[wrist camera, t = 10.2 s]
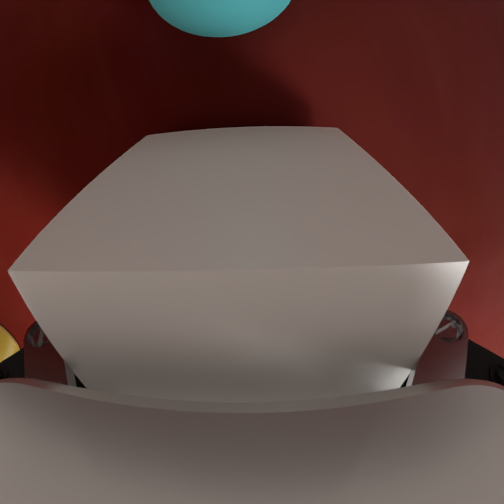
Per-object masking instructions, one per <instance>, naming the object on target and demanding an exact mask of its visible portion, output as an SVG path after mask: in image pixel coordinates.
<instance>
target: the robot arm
mask: <svg viewBox="0 0 504 504" xmlns="http://www.w3.org/2000/svg"><path fill="white" fill-rule="evenodd" d="M0 504H504V359H503V358H501V357H500V356H498V355H496V354H494V353H493V352H491V351H489V350H487V349H485V348H484V347H482V346H480V345H478V344H476V343H474V342H473V341H471V340H469V339H468V328H467V326H466V323H465V322H464V321H463V319H462V318H461V317H460V316H459V315H457V314H456V313H454V312H452V311H450V310H447V311H446V312H445V314H444V316H443V318H442V320H441V322H440V324H439V326H438V327H437V329H436V331H435V333H434V335H433V336H432V338H431V340H430V341H429V343H428V345H427V347H426V348H425V350H424V352H423V353H422V355H421V356H419V357H418V359H417V360H416V362H415V364H414V365H413V367H412V368H411V370H410V374H409V375H408V377H407V378H406V379H405V381H404V382H403V384H402V385H401V387H400V388H397V389H391V390H385V391H378V392H371V393H365V394H358V395H350V396H342V397H333V398H323V399H312V400H299V401H281V402H198V401H181V400H168V399H157V398H147V397H138V396H130V395H123V394H116V393H109V392H103V391H97V390H91V389H87V388H86V387H85V386H84V385H83V383H82V382H81V381H80V380H79V378H78V377H77V376H76V375H75V374H74V371H73V370H72V369H71V368H70V366H69V365H68V364H67V363H66V361H65V360H64V359H63V358H62V357H61V355H60V354H59V353H58V351H57V350H56V349H55V347H54V346H53V344H52V343H51V342H50V340H49V339H48V337H47V336H46V334H45V333H44V331H43V330H42V328H41V327H40V325H39V324H38V322H37V321H35V322H34V323H33V324H32V325H31V326H30V327H29V328H28V330H27V332H26V334H25V337H24V348H22V349H21V350H19V351H17V352H16V353H14V354H13V355H11V356H10V357H8V358H6V359H5V360H3V361H2V362H0Z"/></svg>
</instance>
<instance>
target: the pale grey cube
mask: <svg viewBox="0 0 504 504" xmlns="http://www.w3.org/2000/svg"><path fill="white" fill-rule="evenodd" d="M468 263H469V260H468V259H467V257H466V256H465V255H464V254H463V252H462V251H461V250H460V249H459V247H458V246H457V245H456V244H455V243H454V241H453V240H452V239H451V238H450V237H449V235H448V234H447V233H446V232H445V231H444V230H443V228H442V227H441V226H440V225H439V224H438V223H437V222H436V221H435V219H434V218H433V217H432V216H431V215H430V214H429V213H428V212H427V211H426V210H425V209H424V207H423V206H422V205H421V204H420V203H419V202H418V201H417V200H416V199H415V198H414V197H413V196H412V195H411V194H410V193H409V192H408V191H407V190H406V189H405V188H404V187H403V186H402V185H401V184H400V183H399V182H398V181H397V180H396V179H395V178H394V177H393V176H392V175H391V174H390V173H389V172H388V171H387V170H386V169H384V168H383V167H382V166H381V165H380V164H379V163H378V162H377V161H376V160H375V159H374V158H372V157H371V156H370V155H369V154H368V153H367V152H366V151H365V150H363V149H362V148H361V147H360V146H359V145H358V144H356V143H355V142H354V141H353V140H352V139H351V138H349V137H348V136H347V135H346V134H345V133H343V132H342V131H341V130H340V129H338V128H332V127H305V126H257V127H230V128H213V129H200V130H189V131H178V132H169V133H161V134H153V135H147V136H146V137H144V138H143V139H142V140H140V141H139V142H138V143H136V144H135V145H134V146H133V147H131V148H130V149H129V150H128V151H126V152H125V153H124V154H123V155H122V156H120V157H119V158H118V159H117V160H115V161H114V162H113V163H112V164H111V165H110V166H108V167H107V168H106V169H105V170H104V171H103V172H101V173H100V174H99V175H98V176H97V177H96V178H95V179H94V180H92V181H91V182H90V183H89V184H88V185H87V186H86V187H85V188H84V189H83V190H82V191H81V192H80V193H78V194H77V195H76V196H75V197H74V198H73V199H72V200H71V201H70V202H69V203H68V204H67V205H66V206H65V207H64V208H63V209H62V210H61V211H60V212H59V213H58V214H57V215H56V216H55V217H54V218H53V219H52V220H51V221H50V223H49V224H48V225H47V226H46V227H45V228H44V229H43V230H42V231H41V232H40V233H39V234H38V236H37V237H36V238H35V239H34V240H33V241H32V242H31V243H30V245H29V246H28V247H27V248H26V249H25V250H24V252H23V253H22V254H21V255H20V256H19V258H18V259H17V260H16V261H15V262H14V264H13V265H12V266H11V267H10V269H9V270H8V272H9V274H10V276H11V278H12V280H13V282H14V284H15V286H16V287H17V289H18V291H19V293H20V294H21V296H22V298H23V300H24V301H25V303H26V305H27V306H28V308H29V310H30V311H31V313H32V315H33V316H34V318H35V319H36V321H37V322H38V324H39V325H40V327H41V328H42V330H43V331H44V333H45V334H46V336H47V337H48V339H49V340H50V342H51V343H52V344H53V346H54V347H55V349H56V350H57V351H58V353H59V354H60V355H61V357H62V358H63V359H64V360H65V361H66V363H67V364H68V365H69V366H70V368H71V369H72V370H73V371H74V374H75V375H76V376H77V377H78V378H79V380H80V381H81V382H82V383H83V385H84V386H85V387H86V388H87V389H91V390H97V391H103V392H109V393H116V394H123V395H130V396H138V397H147V398H157V399H168V400H181V401H198V402H281V401H299V400H312V399H323V398H333V397H342V396H350V395H358V394H365V393H371V392H378V391H385V390H391V389H397V388H400V387H401V385H402V384H403V382H404V381H405V379H406V378H407V377H408V375H409V374H410V370H411V368H412V367H413V365H414V364H415V362H416V360H417V359H418V357H419V356H421V355H422V353H423V352H424V350H425V348H426V347H427V345H428V343H429V341H430V340H431V338H432V336H433V335H434V333H435V331H436V329H437V327H438V326H439V324H440V322H441V320H442V318H443V316H444V314H445V312H446V311H447V309H448V307H449V305H450V303H451V301H452V299H453V297H454V295H455V292H456V290H457V288H458V286H459V284H460V282H461V279H462V277H463V275H464V273H465V270H466V268H467V266H468Z"/></svg>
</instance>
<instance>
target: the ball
mask: <svg viewBox="0 0 504 504" xmlns="http://www.w3.org/2000/svg"><path fill="white" fill-rule="evenodd" d="M149 1H150V3H151V5H152V7H153V8H154V9H155V11H156V12H157V13H158V14H159V15H160V16H161V17H162V18H163V19H164V20H165V21H167V22H168V23H169V24H171V25H173V26H174V27H176V28H178V29H180V30H182V31H185V32H188V33H191V34H194V35H199V36H206V37H230V36H236V35H241V34H245V33H248V32H251V31H253V30H256V29H258V28H260V27H262V26H264V25H266V24H267V23H269V22H271V21H272V20H273V19H275V18H276V17H277V16H278V15H279V14H280V13H281V12H282V11H283V10H284V9H285V8H286V7H287V5H288V4H289V3H290V1H291V0H149Z"/></svg>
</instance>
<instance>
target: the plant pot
mask: <svg viewBox="0 0 504 504" xmlns="http://www.w3.org/2000/svg"><path fill="white" fill-rule="evenodd" d="M19 350H20V349H19V346H18V344H17V342H16V341H15V339H14V338H13V337H12V336H11V334H10V333H9V332H8V331H7V330H6V329H5V328H4V327H3V326H1V325H0V362H2V361H3V360H5V359H6V358H8V357H10V356H11V355H13V354H14V353H16V352H17V351H19Z"/></svg>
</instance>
